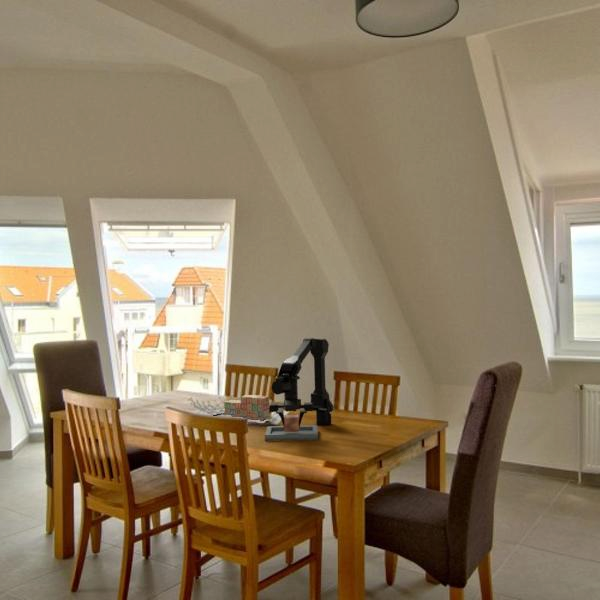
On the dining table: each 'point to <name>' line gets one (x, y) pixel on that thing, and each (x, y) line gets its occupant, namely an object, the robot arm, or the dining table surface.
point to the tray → (291, 433)
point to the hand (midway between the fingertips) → (291, 427)
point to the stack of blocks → (249, 407)
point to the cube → (291, 423)
